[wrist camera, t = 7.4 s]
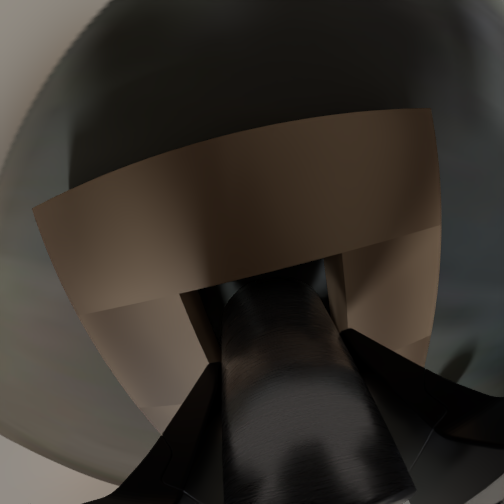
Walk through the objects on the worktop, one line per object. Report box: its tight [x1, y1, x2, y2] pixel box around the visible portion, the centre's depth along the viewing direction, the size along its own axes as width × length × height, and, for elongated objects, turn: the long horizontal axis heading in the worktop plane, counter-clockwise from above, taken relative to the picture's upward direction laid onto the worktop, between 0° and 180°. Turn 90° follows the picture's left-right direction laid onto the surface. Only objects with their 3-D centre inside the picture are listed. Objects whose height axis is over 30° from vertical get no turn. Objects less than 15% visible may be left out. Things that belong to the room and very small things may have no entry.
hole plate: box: [32, 108, 441, 436], centre depth 11 cm, size 14×14×2 cm
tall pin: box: [222, 276, 417, 504], centre depth 7 cm, size 4×4×8 cm
